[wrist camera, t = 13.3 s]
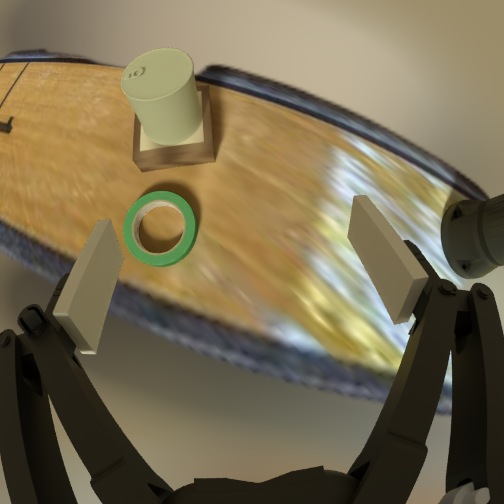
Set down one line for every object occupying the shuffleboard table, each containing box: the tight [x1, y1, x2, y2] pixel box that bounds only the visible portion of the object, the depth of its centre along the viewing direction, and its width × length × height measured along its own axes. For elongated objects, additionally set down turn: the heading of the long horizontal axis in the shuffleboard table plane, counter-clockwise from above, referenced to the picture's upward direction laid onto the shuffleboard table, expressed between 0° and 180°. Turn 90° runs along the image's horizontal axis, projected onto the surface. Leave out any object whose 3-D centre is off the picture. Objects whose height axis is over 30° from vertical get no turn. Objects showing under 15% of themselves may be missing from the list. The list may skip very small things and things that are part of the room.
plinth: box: [133, 85, 215, 172], centre depth 43 cm, size 12×12×5 cm
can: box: [121, 48, 202, 145], centre depth 35 cm, size 9×9×12 cm
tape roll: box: [123, 191, 197, 267], centre depth 43 cm, size 11×11×3 cm
